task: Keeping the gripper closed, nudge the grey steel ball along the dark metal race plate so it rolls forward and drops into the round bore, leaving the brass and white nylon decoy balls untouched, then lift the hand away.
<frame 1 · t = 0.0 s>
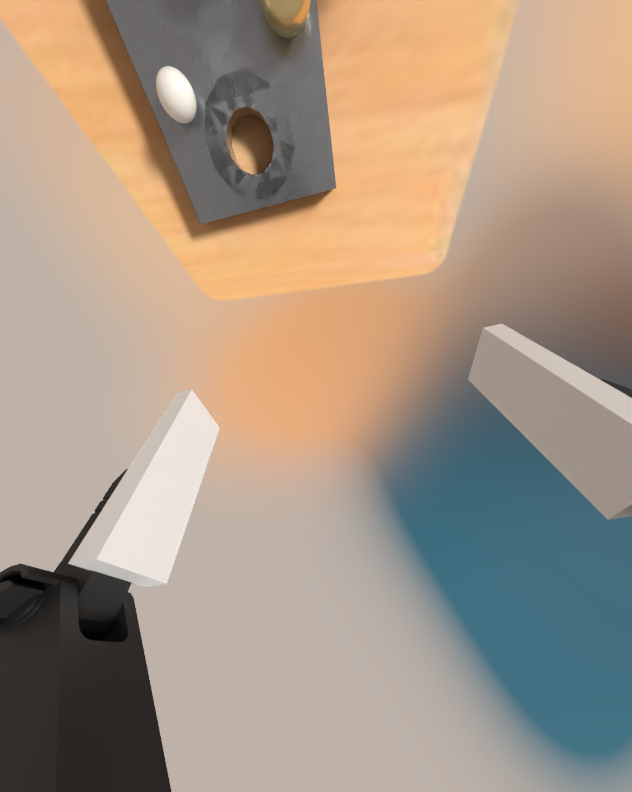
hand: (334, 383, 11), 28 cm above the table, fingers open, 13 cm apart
nylon decoy: (177, 96, 20), point 4 cm above the table, touching race plate
race plate: (233, 71, 21), on the table
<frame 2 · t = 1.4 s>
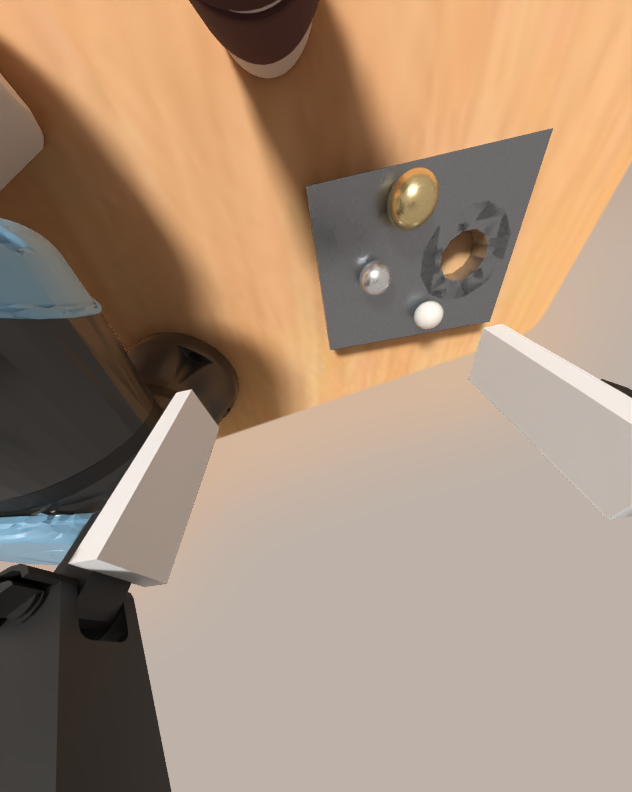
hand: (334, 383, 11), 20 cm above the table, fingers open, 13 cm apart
nylon decoy: (428, 315, 26), point 4 cm above the table, touching race plate
steel ball: (375, 278, 23), point 4 cm above the table, touching race plate
race plate: (406, 261, 26), on the table
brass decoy: (412, 201, 19), point 4 cm above the table, touching race plate
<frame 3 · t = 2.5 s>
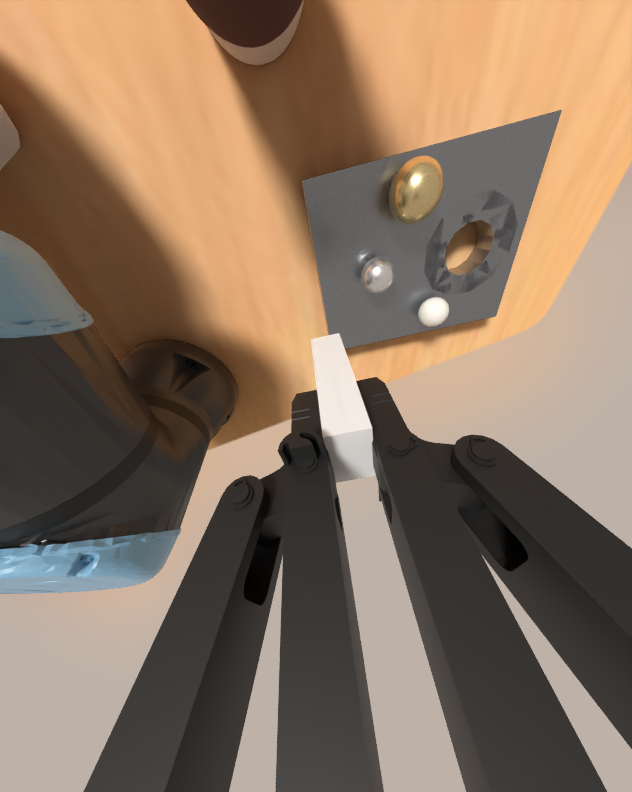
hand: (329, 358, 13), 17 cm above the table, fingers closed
nylon decoy: (433, 312, 25), point 4 cm above the table, touching race plate
steel ball: (377, 275, 22), point 4 cm above the table, touching race plate
race plate: (408, 257, 25), on the table
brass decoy: (415, 192, 18), point 4 cm above the table, touching race plate
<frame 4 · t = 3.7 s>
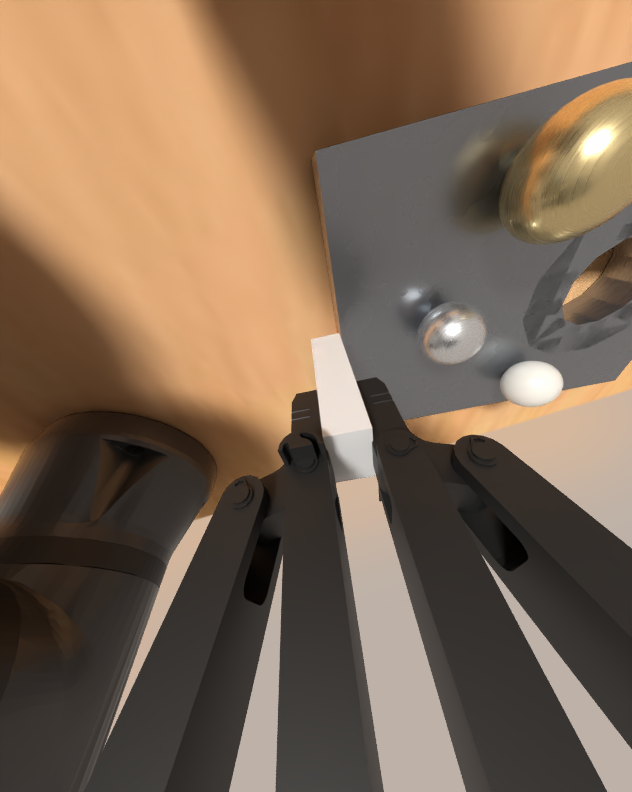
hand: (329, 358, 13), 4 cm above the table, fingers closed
nylon decoy: (529, 383, 15), point 4 cm above the table, touching race plate
steel ball: (449, 334, 12), point 4 cm above the table, touching race plate
race plate: (487, 291, 15), on the table
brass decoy: (572, 175, 8), point 4 cm above the table, touching race plate
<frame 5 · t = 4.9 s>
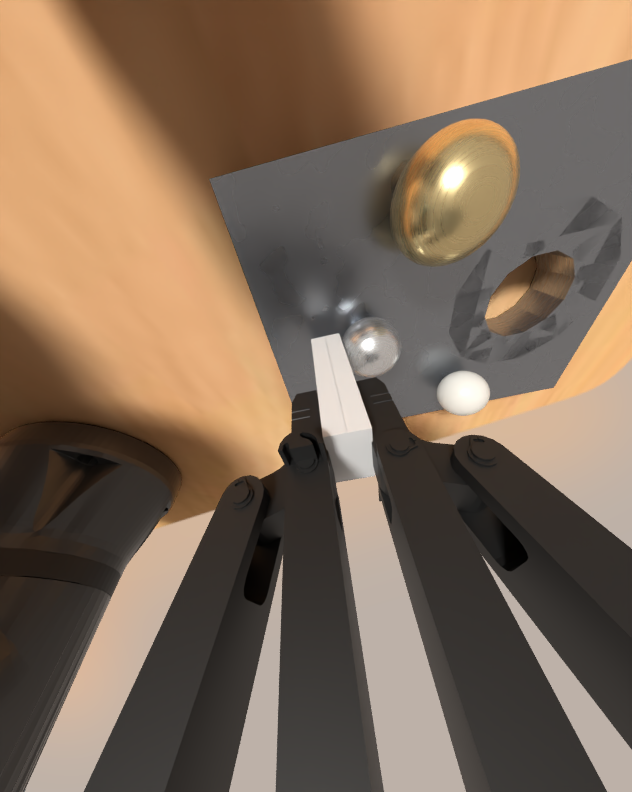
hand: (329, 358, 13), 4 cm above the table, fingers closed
nylon decoy: (461, 393, 15), point 4 cm above the table, touching race plate
steel ball: (370, 348, 12), point 4 cm above the table, touching gripper, race plate
race plate: (420, 304, 15), on the table
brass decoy: (447, 204, 8), point 4 cm above the table, touching race plate
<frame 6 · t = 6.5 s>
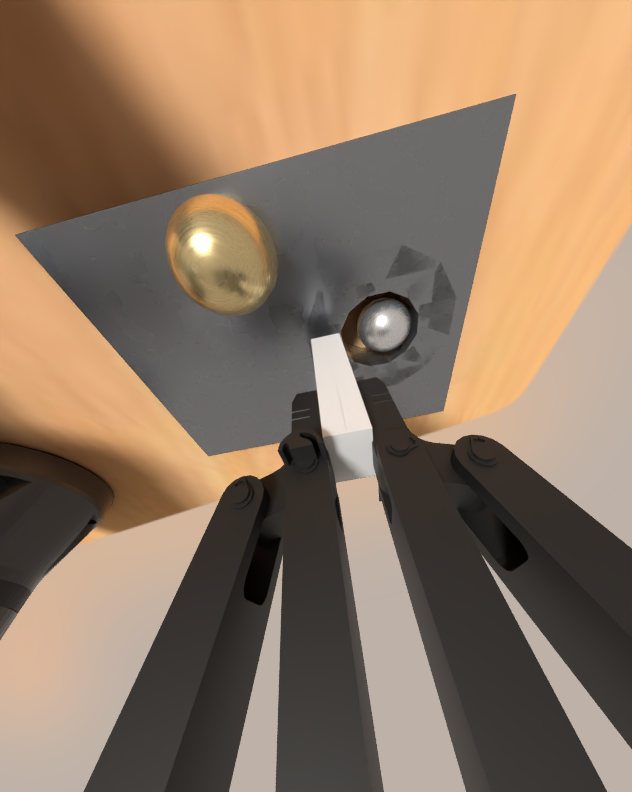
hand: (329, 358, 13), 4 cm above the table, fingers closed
steel ball: (383, 325, 14), point 2 cm above the table, tilted 33°
race plate: (297, 333, 16), on the table
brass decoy: (226, 262, 9), point 4 cm above the table, touching race plate
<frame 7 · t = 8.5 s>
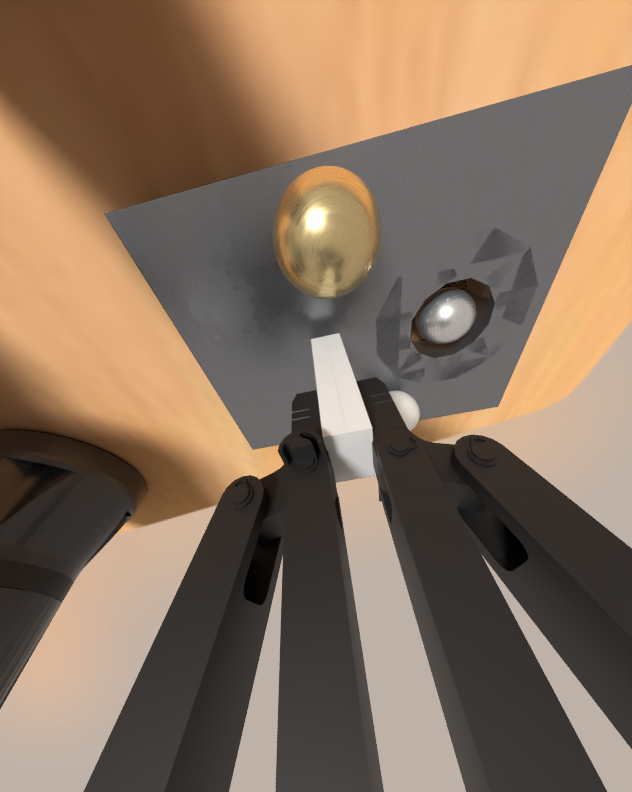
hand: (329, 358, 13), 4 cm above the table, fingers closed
nylon decoy: (395, 412, 15), point 4 cm above the table, touching race plate
steel ball: (443, 316, 14), point 2 cm above the table, tilted 18°
race plate: (355, 323, 15), on the table
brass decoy: (326, 241, 9), point 4 cm above the table, touching race plate
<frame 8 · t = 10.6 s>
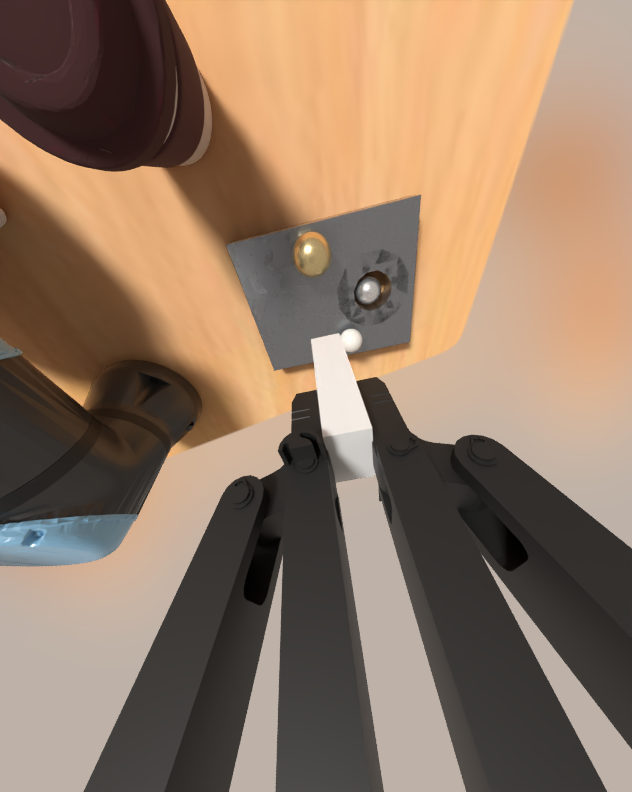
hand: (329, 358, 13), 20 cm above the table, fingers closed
nylon decoy: (350, 340, 30), point 4 cm above the table, touching race plate
coffee cup: (169, 106, 19), on the table
steel ball: (367, 290, 28), point 2 cm above the table
race plate: (329, 294, 30), on the table
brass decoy: (312, 255, 23), point 4 cm above the table, touching race plate
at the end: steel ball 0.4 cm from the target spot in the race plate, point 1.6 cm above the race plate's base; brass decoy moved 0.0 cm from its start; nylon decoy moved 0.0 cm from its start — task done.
